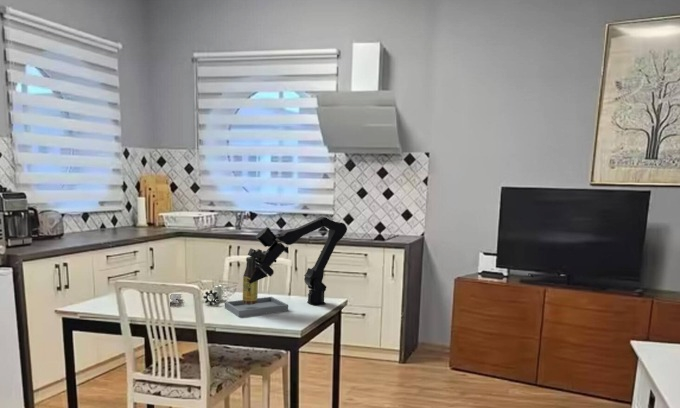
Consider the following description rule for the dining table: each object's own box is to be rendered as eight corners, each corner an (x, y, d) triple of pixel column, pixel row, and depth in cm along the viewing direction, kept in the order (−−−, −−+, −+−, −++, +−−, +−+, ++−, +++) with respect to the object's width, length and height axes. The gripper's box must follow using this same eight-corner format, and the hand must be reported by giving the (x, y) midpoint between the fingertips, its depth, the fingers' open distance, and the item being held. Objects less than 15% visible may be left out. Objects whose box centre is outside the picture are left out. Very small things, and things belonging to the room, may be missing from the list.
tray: (271, 302, 228) (271, 296, 228) (288, 310, 214) (288, 304, 214) (224, 307, 216) (224, 301, 216) (238, 317, 202) (238, 310, 202)
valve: (212, 298, 233) (203, 304, 221) (213, 284, 232) (203, 290, 221) (226, 299, 232) (217, 305, 220) (226, 285, 232) (218, 290, 220)
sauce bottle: (239, 303, 213) (239, 257, 213) (251, 301, 218) (251, 255, 217) (249, 306, 209) (249, 258, 208) (260, 303, 214) (260, 257, 213)
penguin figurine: (163, 284, 219) (172, 281, 231) (162, 304, 219) (171, 300, 231) (177, 285, 219) (186, 282, 231) (176, 304, 219) (185, 300, 231)
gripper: (253, 239, 222) (228, 265, 218) (266, 244, 206) (240, 272, 201) (269, 255, 226) (245, 282, 222) (284, 262, 210) (258, 290, 205)
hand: (247, 281), depth 212 cm, fingers closed on sauce bottle, 6 cm apart
